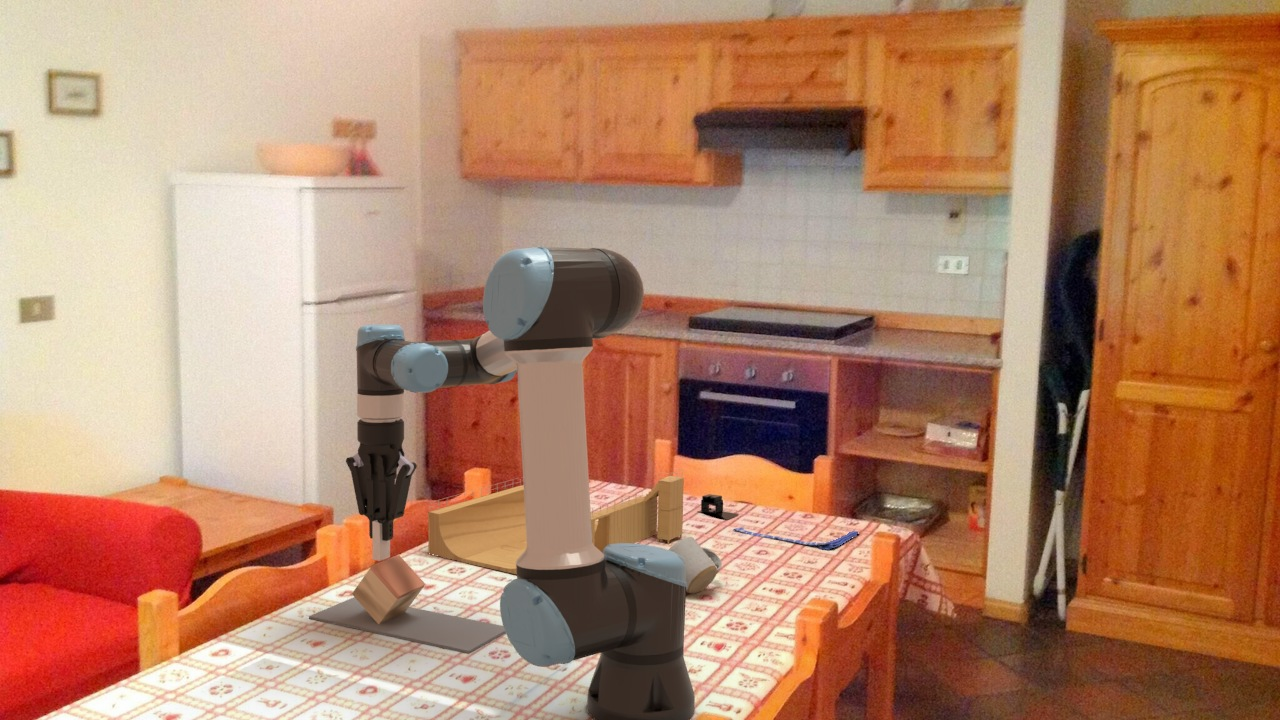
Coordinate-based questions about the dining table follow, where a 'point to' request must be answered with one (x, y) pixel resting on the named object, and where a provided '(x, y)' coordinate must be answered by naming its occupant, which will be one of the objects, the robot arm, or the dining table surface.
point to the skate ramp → (499, 527)
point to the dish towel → (813, 544)
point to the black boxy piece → (718, 503)
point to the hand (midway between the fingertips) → (381, 558)
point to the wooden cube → (388, 589)
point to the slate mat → (415, 626)
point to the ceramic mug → (697, 564)
